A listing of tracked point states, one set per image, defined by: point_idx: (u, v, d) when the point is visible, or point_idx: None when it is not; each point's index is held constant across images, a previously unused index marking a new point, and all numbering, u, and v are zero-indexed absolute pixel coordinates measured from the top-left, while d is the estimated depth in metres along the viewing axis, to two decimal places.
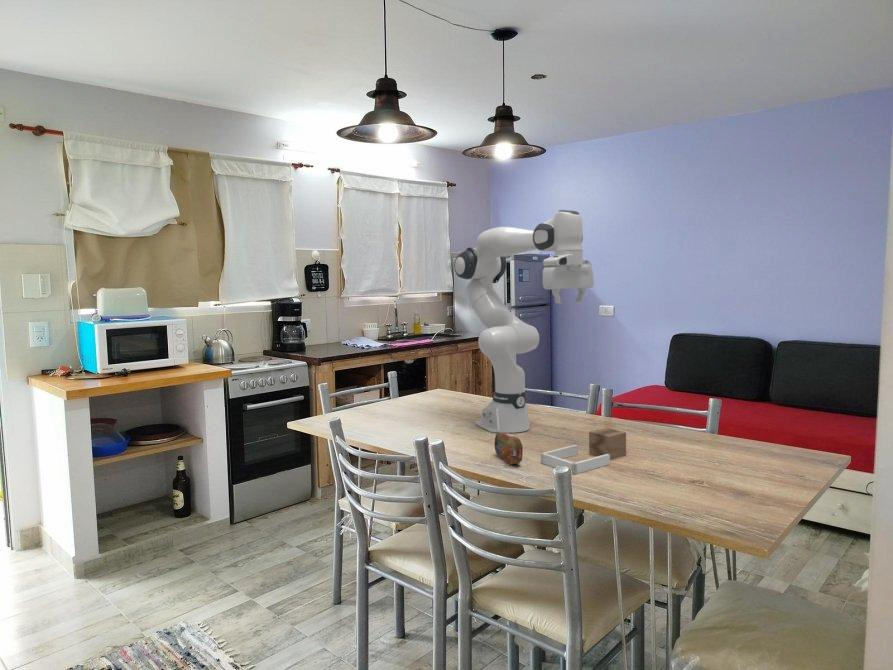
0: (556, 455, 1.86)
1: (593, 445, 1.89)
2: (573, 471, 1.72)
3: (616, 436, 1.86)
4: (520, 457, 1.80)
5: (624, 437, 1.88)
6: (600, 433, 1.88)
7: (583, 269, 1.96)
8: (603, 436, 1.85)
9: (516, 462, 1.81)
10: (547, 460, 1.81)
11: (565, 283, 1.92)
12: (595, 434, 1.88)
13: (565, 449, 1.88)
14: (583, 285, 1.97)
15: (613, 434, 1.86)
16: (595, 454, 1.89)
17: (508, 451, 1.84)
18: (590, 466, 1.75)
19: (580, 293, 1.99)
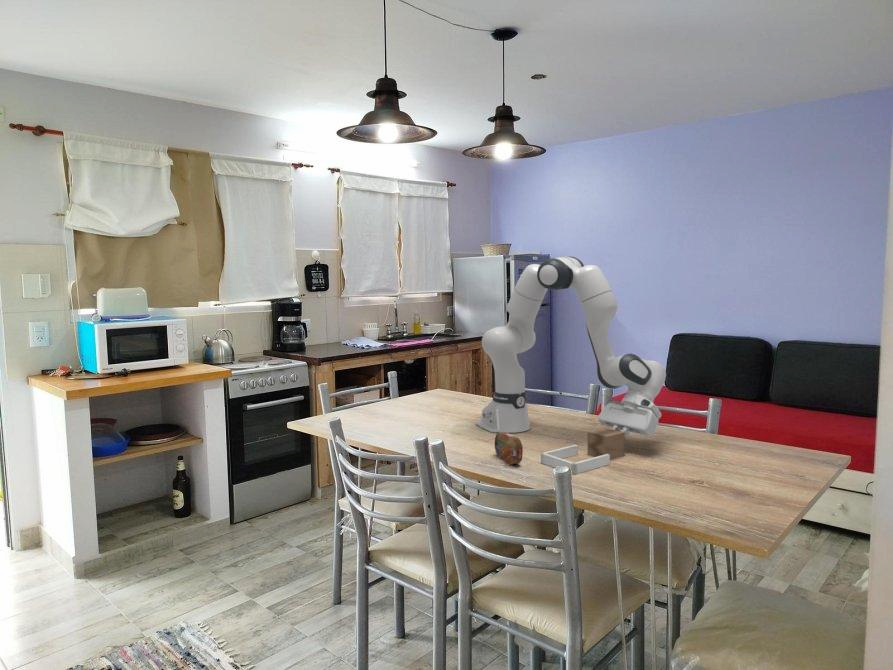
0: (556, 455, 1.86)
1: (592, 445, 1.89)
2: (573, 471, 1.72)
3: (614, 436, 1.85)
4: (520, 457, 1.80)
5: (622, 437, 1.87)
6: (598, 433, 1.87)
7: None
8: (601, 436, 1.85)
9: (516, 462, 1.81)
10: (547, 460, 1.81)
11: None
12: (593, 434, 1.88)
13: (565, 449, 1.88)
14: None
15: (611, 434, 1.86)
16: (593, 454, 1.88)
17: (508, 451, 1.84)
18: (590, 466, 1.75)
19: None
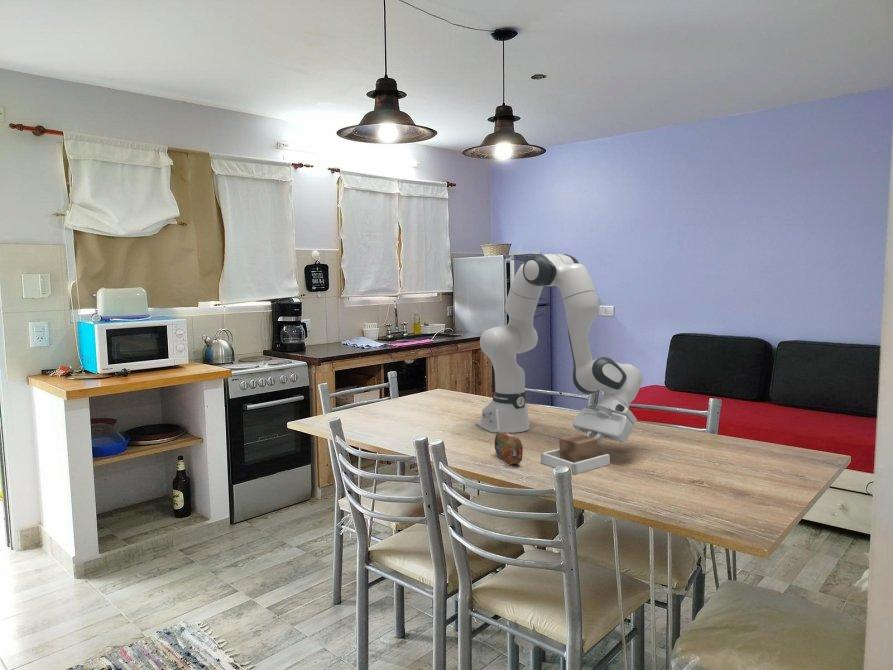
0: (556, 455, 1.86)
1: (564, 452, 1.82)
2: (573, 471, 1.72)
3: (587, 443, 1.79)
4: (520, 457, 1.80)
5: (595, 443, 1.81)
6: (570, 440, 1.81)
7: None
8: (573, 443, 1.78)
9: (516, 462, 1.81)
10: (547, 460, 1.81)
11: None
12: (565, 441, 1.81)
13: None
14: None
15: (584, 441, 1.79)
16: None
17: (508, 451, 1.84)
18: (590, 466, 1.75)
19: None
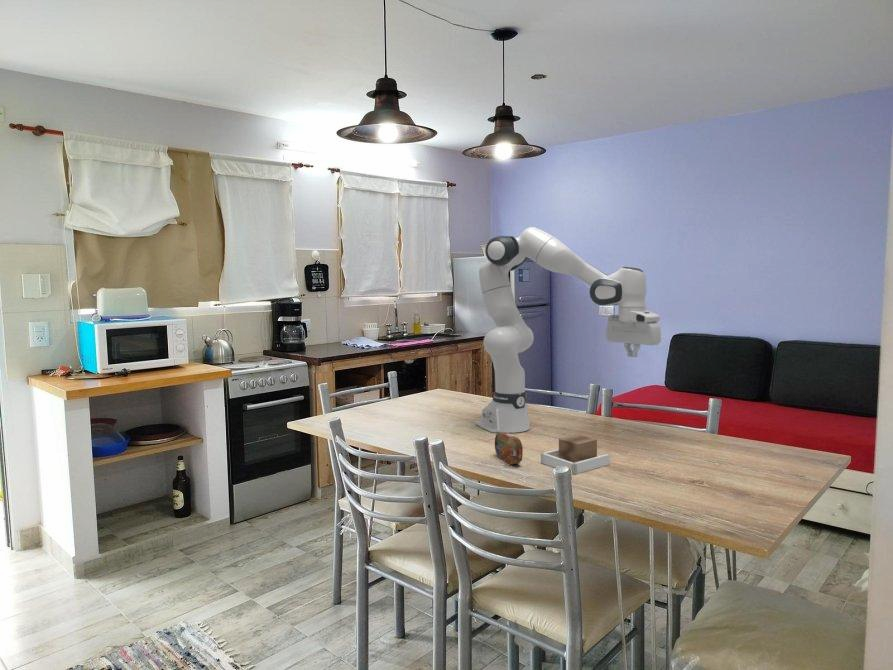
0: (556, 455, 1.86)
1: (563, 452, 1.82)
2: (573, 471, 1.72)
3: (586, 444, 1.78)
4: (520, 457, 1.80)
5: (595, 444, 1.80)
6: (570, 440, 1.80)
7: None
8: (572, 444, 1.78)
9: (516, 462, 1.81)
10: (547, 460, 1.81)
11: None
12: (565, 441, 1.81)
13: None
14: None
15: (583, 441, 1.79)
16: None
17: (508, 451, 1.84)
18: (590, 466, 1.75)
19: (628, 348, 2.02)
